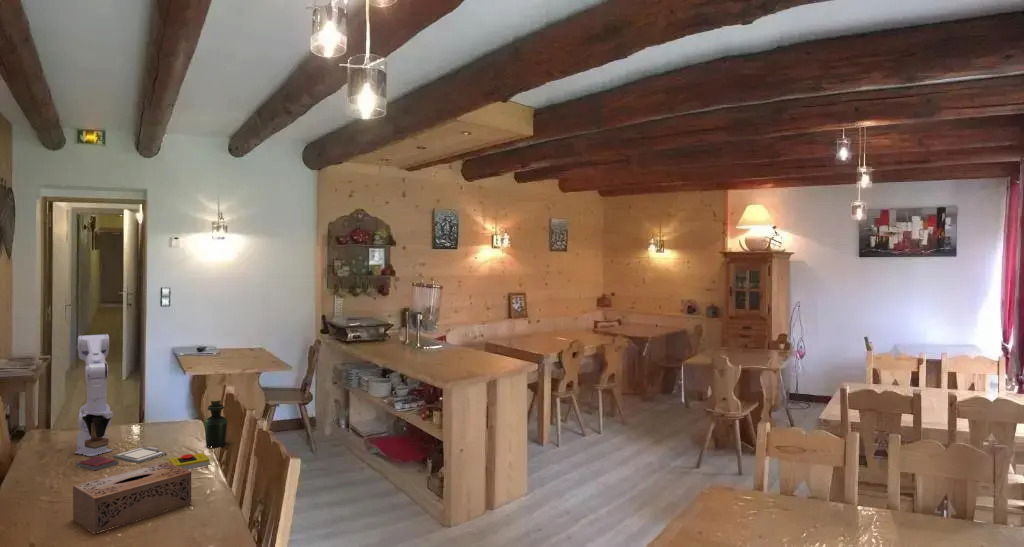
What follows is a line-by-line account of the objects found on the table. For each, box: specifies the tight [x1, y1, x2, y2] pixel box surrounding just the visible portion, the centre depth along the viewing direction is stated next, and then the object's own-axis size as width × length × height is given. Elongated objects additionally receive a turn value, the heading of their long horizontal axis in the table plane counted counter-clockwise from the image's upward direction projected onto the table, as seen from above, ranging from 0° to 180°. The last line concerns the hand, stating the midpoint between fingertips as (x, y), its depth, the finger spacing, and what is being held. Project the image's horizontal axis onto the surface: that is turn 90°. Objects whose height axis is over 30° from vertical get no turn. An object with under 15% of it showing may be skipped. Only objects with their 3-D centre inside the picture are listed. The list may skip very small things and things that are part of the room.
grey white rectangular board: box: [112, 446, 168, 464], centre depth 230 cm, size 14×11×2 cm
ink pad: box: [75, 455, 119, 471], centre depth 220 cm, size 10×8×2 cm
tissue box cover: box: [72, 461, 192, 534], centre depth 182 cm, size 26×14×10 cm, turn 144°
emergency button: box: [168, 452, 210, 470], centre depth 221 cm, size 9×4×15 cm
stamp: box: [85, 422, 110, 449], centre depth 219 cm, size 5×5×8 cm
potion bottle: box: [204, 398, 228, 449], centre depth 243 cm, size 8×8×18 cm
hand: (96, 435), depth 220 cm, fingers closed on stamp, 3 cm apart
